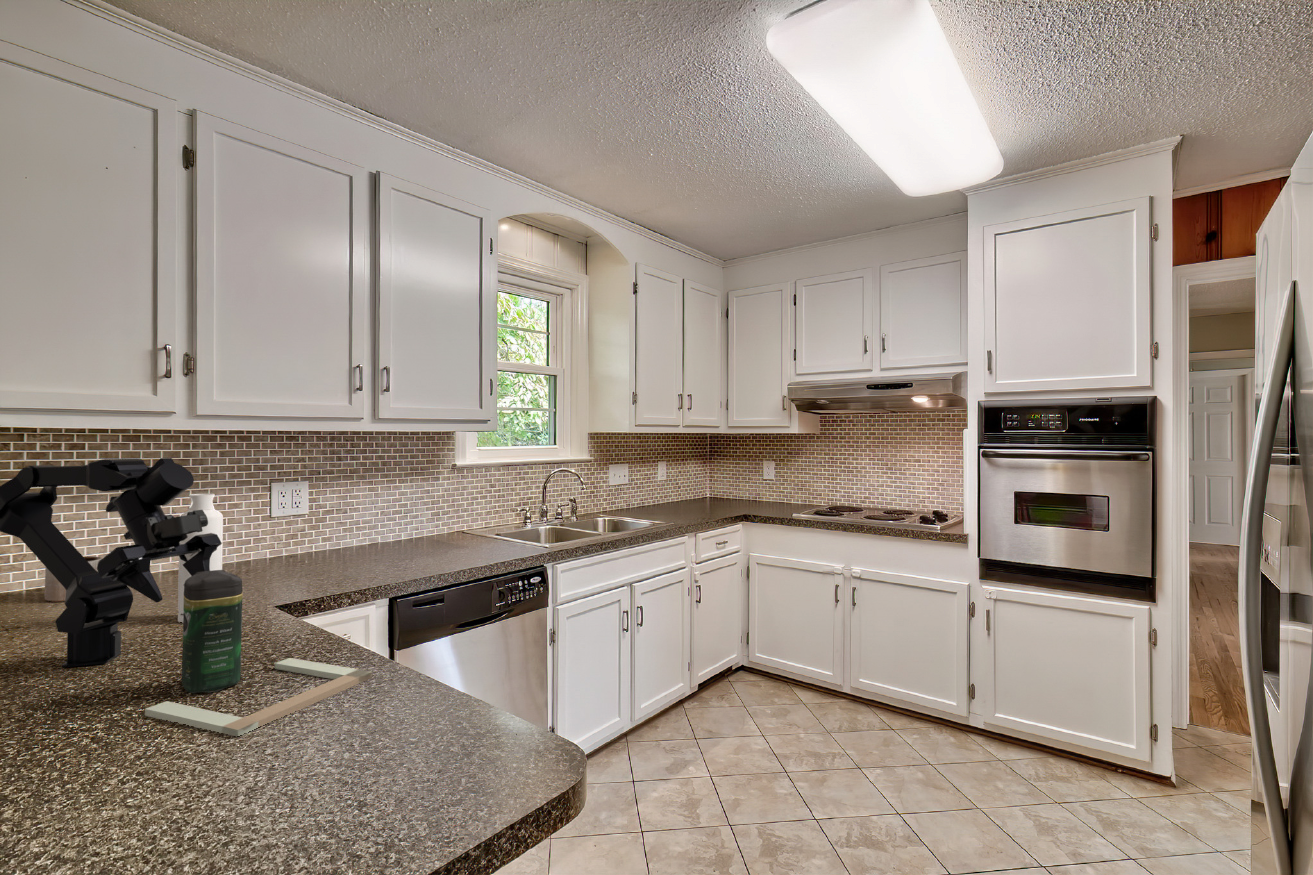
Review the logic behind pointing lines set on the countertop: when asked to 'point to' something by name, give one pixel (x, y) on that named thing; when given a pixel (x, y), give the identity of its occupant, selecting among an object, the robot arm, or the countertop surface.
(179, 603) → the bottle
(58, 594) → the planter
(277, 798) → the countertop surface
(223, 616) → the coffee jar
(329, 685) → the frame
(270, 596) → the countertop surface
